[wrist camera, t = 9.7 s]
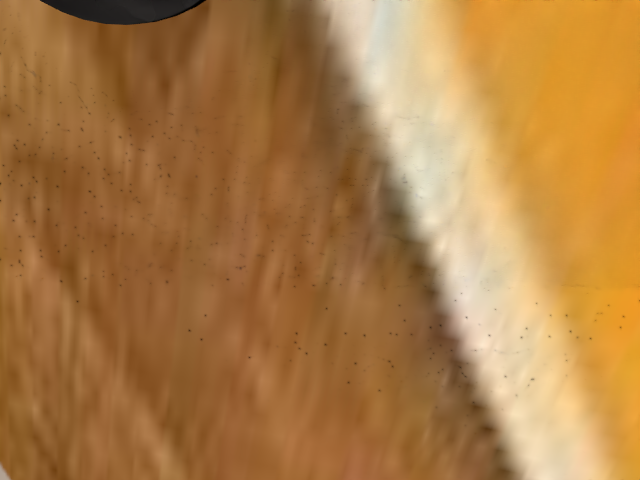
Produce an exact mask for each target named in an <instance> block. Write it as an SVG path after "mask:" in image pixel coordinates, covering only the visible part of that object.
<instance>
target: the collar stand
mask: <svg viewBox="0 0 640 480" xmlns="http://www.w3.org/2000/svg"><path fill="white" fill-rule="evenodd" d="M40 1H42V2H44V3H46V4H48V5H50V6H52V7H54V8H56V9H58V10H60V11H61V12H64V13H67V14H69V15H72V16H75V17H78V18H81V19H84V20H89V21H94V22H99V23H104V24H122V25H130V24H141V23H150V22H157V21H160V20H164V19H167V18H171V17H175V16H177V15H180V14H182V13H184V12H186V11H188V10H190V9H193V8H195V7H197V6H198V5H200V4H201V3H203V2H204V1H206V0H40Z"/></svg>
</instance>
